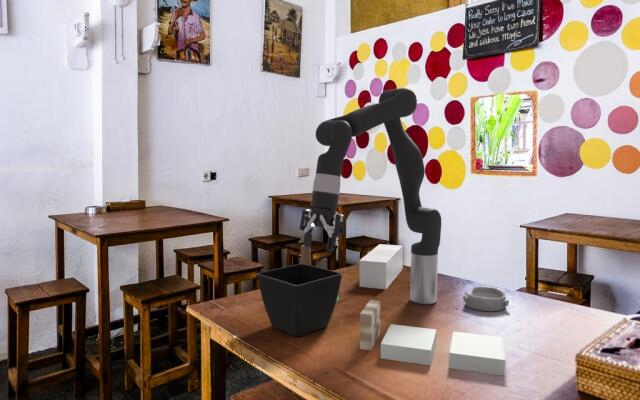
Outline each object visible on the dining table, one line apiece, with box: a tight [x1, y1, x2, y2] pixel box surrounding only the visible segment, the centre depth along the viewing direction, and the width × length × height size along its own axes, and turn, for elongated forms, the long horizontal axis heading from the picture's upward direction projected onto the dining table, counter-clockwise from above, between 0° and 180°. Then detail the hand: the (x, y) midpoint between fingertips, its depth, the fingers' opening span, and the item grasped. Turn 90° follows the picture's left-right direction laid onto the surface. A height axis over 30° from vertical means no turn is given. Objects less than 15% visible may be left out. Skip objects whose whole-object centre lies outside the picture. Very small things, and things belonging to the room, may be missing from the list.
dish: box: [462, 286, 510, 312], centre depth 161 cm, size 14×14×5 cm
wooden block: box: [300, 244, 328, 270], centre depth 175 cm, size 4×11×18 cm, turn 53°
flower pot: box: [257, 263, 343, 337], centre depth 143 cm, size 19×19×17 cm
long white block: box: [358, 243, 404, 290], centre depth 197 cm, size 32×11×11 cm, turn 159°
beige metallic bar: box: [359, 299, 381, 351], centre depth 132 cm, size 12×3×10 cm, turn 161°
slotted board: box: [380, 323, 506, 377], centre depth 123 cm, size 14×30×4 cm, turn 71°
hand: (318, 248), depth 131 cm, fingers open, 8 cm apart
